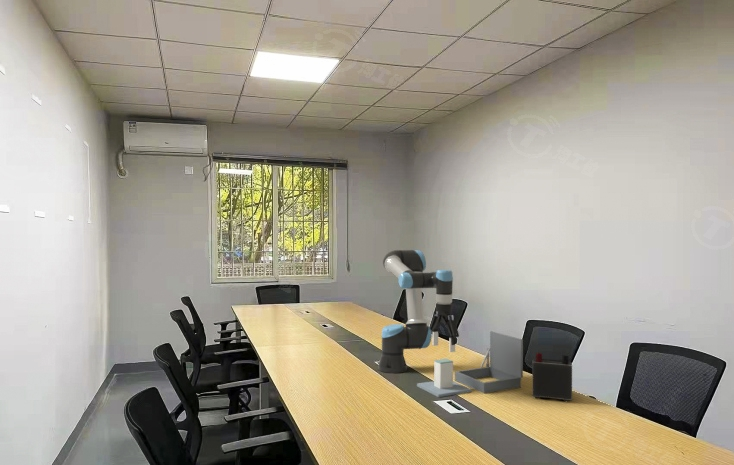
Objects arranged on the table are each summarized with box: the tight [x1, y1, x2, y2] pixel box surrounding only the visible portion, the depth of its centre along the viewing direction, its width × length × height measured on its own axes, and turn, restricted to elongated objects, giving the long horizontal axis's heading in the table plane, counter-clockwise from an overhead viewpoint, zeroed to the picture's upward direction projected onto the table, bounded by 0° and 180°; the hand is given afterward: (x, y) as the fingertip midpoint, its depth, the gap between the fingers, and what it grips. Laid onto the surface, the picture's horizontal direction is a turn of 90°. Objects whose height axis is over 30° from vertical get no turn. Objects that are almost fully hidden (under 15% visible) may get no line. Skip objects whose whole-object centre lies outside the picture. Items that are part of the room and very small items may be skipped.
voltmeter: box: [532, 352, 573, 403], centre depth 222 cm, size 16×16×20 cm
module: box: [433, 358, 454, 389], centre depth 230 cm, size 5×7×12 cm
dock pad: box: [416, 380, 472, 398], centre depth 230 cm, size 18×18×1 cm
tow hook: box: [485, 347, 490, 367], centre depth 262 cm, size 8×13×9 cm
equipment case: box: [454, 331, 524, 394], centre depth 240 cm, size 23×23×22 cm
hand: (443, 348), depth 230 cm, fingers open, 13 cm apart
